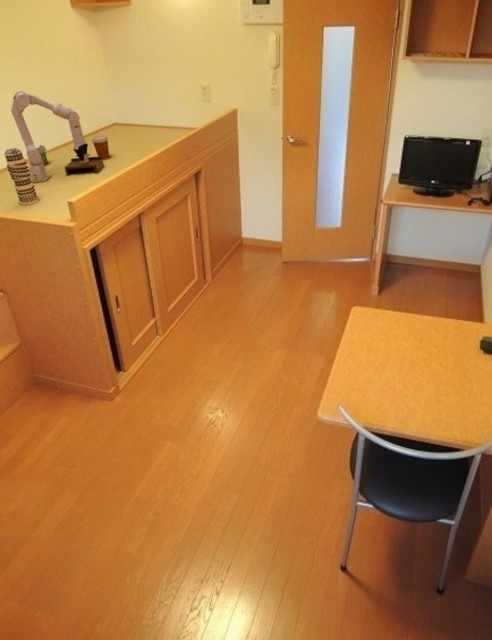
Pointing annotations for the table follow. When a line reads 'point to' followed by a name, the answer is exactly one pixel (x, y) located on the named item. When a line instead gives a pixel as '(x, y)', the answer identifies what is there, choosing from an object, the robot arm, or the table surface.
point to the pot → (84, 158)
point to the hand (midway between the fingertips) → (83, 159)
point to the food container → (42, 154)
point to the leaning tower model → (20, 176)
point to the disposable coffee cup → (101, 146)
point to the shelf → (85, 164)
